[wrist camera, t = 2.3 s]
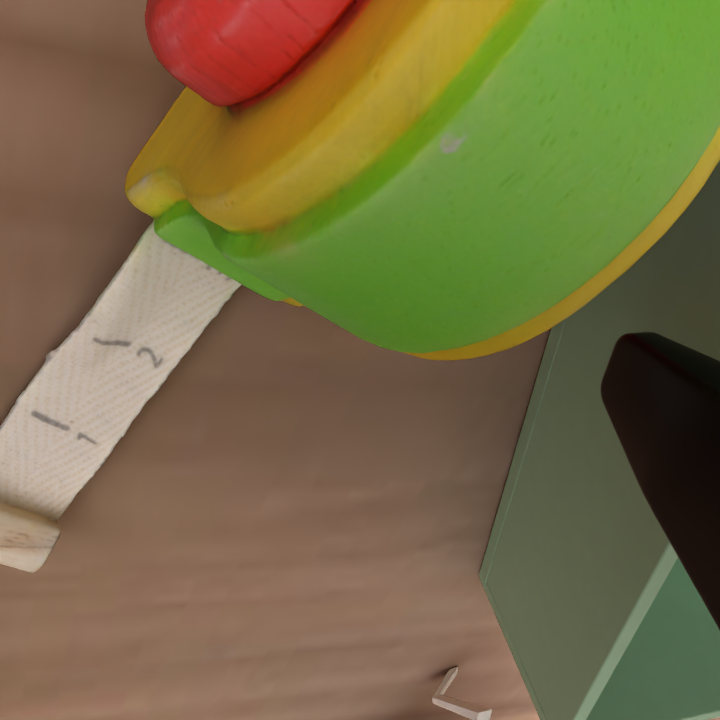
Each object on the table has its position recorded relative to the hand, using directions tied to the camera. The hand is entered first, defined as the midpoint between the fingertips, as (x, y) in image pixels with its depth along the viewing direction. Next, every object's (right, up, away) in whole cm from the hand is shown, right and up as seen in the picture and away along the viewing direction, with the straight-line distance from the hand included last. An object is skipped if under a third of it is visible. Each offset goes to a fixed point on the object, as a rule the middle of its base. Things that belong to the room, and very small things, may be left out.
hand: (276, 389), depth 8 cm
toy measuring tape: (-1, +3, +4) cm, 6 cm away
